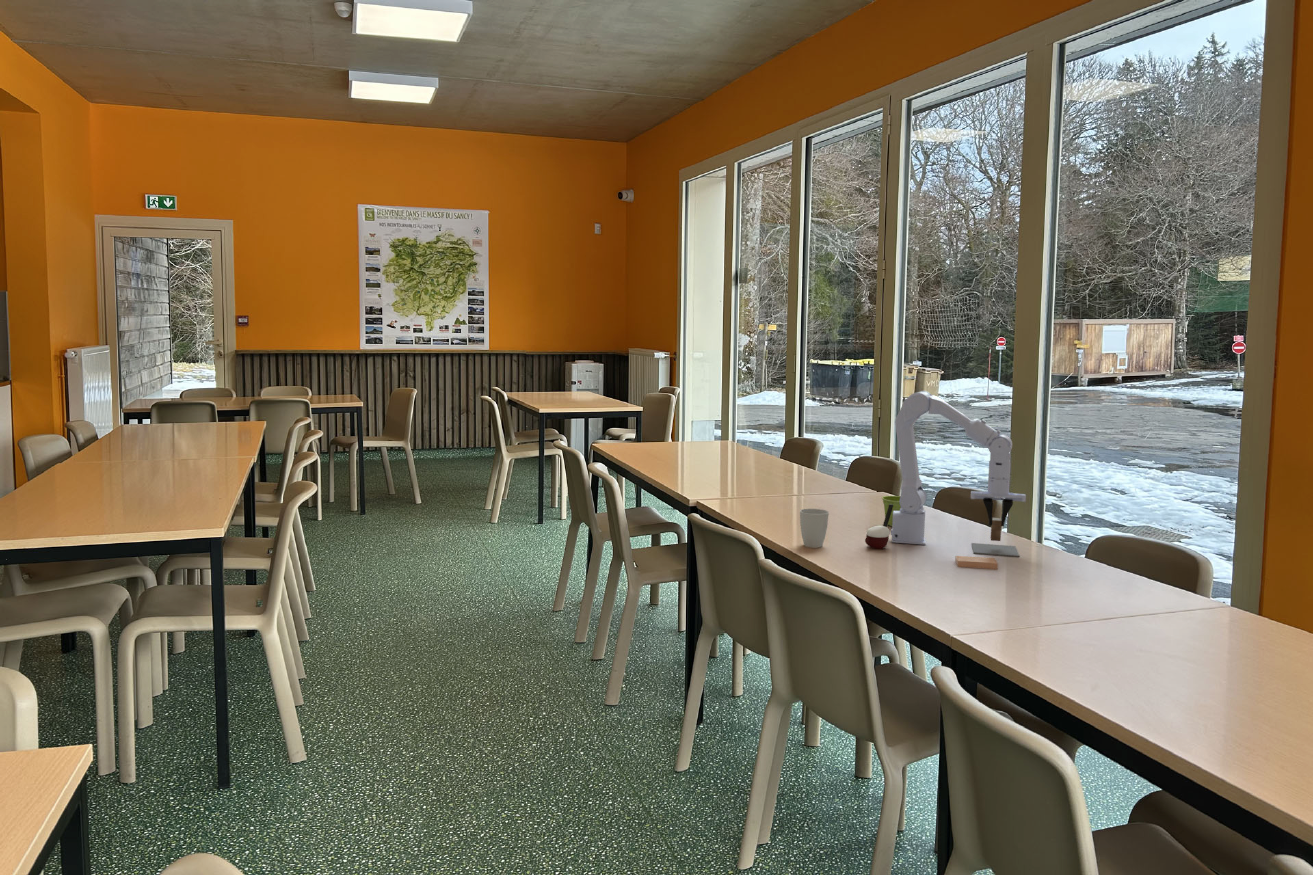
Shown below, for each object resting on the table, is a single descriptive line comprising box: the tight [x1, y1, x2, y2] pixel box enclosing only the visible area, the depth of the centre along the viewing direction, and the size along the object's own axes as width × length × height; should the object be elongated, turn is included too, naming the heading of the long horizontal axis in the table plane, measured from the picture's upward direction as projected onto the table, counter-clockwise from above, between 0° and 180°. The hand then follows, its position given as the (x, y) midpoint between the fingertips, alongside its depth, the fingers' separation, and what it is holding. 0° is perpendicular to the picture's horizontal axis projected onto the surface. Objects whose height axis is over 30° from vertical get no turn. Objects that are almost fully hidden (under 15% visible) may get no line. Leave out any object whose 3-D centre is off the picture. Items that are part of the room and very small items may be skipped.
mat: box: [971, 542, 1020, 558], centre depth 269 cm, size 12×12×1 cm
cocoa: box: [864, 504, 893, 550], centre depth 270 cm, size 10×6×12 cm, turn 98°
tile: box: [954, 555, 999, 570], centre depth 252 cm, size 10×2×6 cm
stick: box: [990, 517, 1002, 542], centre depth 268 cm, size 2×2×6 cm
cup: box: [799, 508, 830, 549], centre depth 271 cm, size 8×8×10 cm
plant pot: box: [881, 495, 901, 527], centre depth 300 cm, size 9×9×9 cm
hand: (996, 525), depth 268 cm, fingers closed on stick, 2 cm apart
